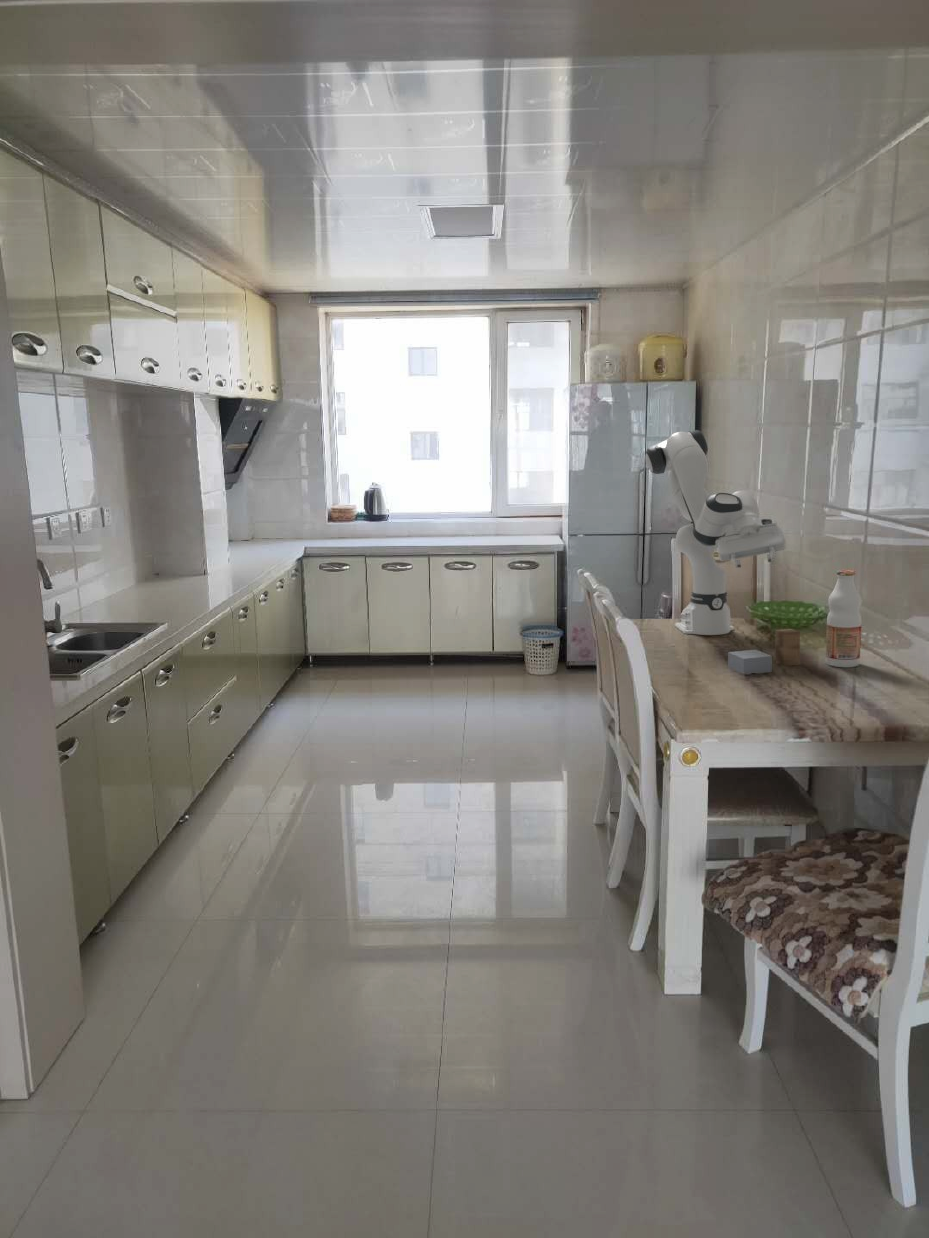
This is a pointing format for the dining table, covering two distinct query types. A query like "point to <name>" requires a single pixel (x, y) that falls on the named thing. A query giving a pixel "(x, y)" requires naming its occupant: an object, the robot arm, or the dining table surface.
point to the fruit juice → (844, 622)
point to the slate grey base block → (750, 661)
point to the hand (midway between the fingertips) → (754, 563)
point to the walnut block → (787, 647)
